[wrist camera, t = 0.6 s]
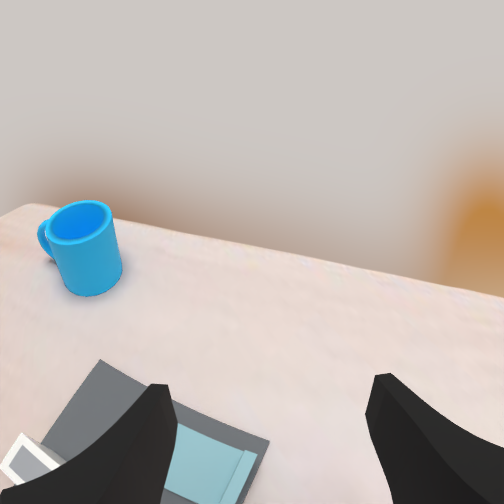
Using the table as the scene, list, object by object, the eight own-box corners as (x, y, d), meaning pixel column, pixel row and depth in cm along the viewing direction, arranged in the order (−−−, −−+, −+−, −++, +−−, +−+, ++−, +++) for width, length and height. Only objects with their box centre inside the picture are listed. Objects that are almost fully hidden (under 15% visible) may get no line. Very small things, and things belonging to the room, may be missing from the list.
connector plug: (76, 514, 16) (45, 510, 12) (34, 480, 17) (-2, 466, 12) (95, 482, 18) (68, 472, 14) (53, 450, 19) (21, 431, 15)
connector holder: (226, 514, 18) (229, 515, 16) (133, 471, 20) (122, 464, 18) (253, 457, 23) (259, 448, 20) (164, 418, 24) (158, 404, 22)
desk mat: (188, 602, 11) (188, 603, 11) (13, 491, 15) (10, 490, 15) (268, 442, 24) (269, 441, 24) (101, 361, 28) (100, 359, 28)
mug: (132, 256, 39) (123, 205, 34) (105, 303, 33) (88, 251, 28) (62, 240, 40) (48, 193, 34) (32, 280, 34) (11, 232, 28)
